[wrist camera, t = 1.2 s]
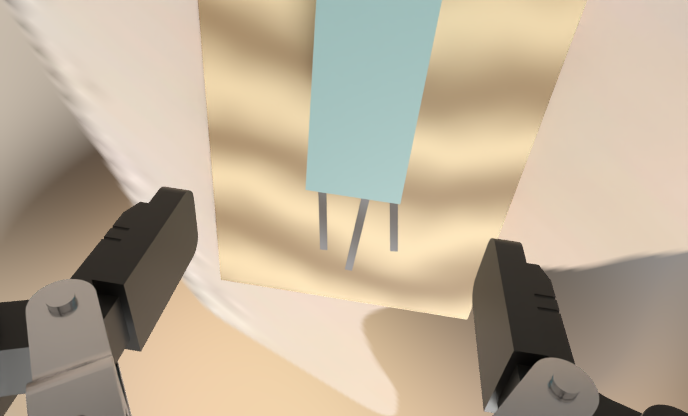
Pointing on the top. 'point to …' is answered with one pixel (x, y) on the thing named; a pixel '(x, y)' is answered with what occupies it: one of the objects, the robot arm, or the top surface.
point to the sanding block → (367, 94)
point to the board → (424, 164)
